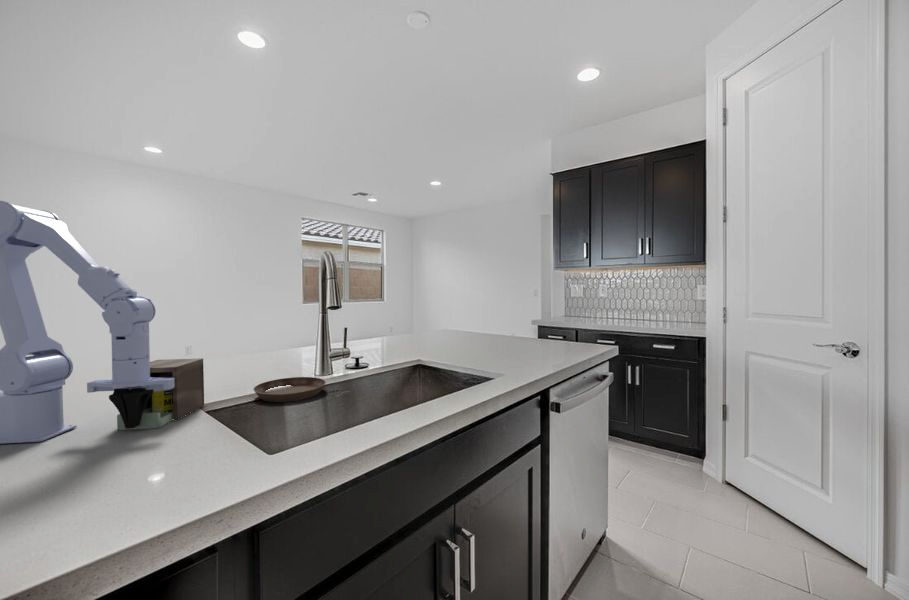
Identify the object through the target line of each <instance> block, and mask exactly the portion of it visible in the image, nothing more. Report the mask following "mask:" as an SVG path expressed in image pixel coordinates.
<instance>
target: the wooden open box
mask: <svg viewBox="0 0 909 600" xmlns="http://www.w3.org/2000/svg"><path fill="white" fill-rule="evenodd" d="M164 376H173V378H174V388H173V416H174V420H178V419H180V418H181V417H183V416H185V415H187V414H189V413H190V412H192V411H194V410H196V409H197V410H199V409H202V407H204V406H205V380H204V379H205V377H204V376H205V375H204V358H202V357H201V358H176V359H175V358H173V359H172V358H171V359H156V360H152V361H150V377H155V378H158V377H164ZM137 387H140V386H137ZM203 405H204V406H203ZM150 407H152V395H151V396H150V398H149V400H148V402H147V404H146V406H145V408H144V410H145V409H148V408H150ZM197 410H196V411H197ZM194 412H195V411H194ZM192 413H193V412H192ZM190 414H191V413H190ZM190 414H189V415H190ZM187 416H188V415H187ZM185 417H186V416H185ZM183 418H184V417H183ZM181 419H182V418H181ZM181 419H180V420H181ZM174 420H173V421H174ZM178 421H179V420H178Z"/></svg>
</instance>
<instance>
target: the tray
mask: <svg viewBox="0 0 909 600" xmlns="http://www.w3.org/2000/svg"><path fill="white" fill-rule="evenodd" d="M172 419H174V416H173V412H164V413H160V412H152V407H150V408H148V409H145V410H144V411H143V414H142V417H141V421H140V425H139V426H136V427H134V428H125V425H124V422H123V420H122V417H121V415H120V413H119V414H117V415H116V427H117V431H125V430H129V431H130V430H145V429H146V430H147V429H159V428H162V427H163V426H164V424H165V425H167V424H168V423H170V422H172V421H173V420H172ZM171 420H172V421H171ZM169 421H170V422H169ZM167 422H168V423H167ZM166 423H167V424H166ZM162 425H163V426H162Z"/></svg>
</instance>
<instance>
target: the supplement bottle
mask: <svg viewBox="0 0 909 600" xmlns="http://www.w3.org/2000/svg"><path fill="white" fill-rule="evenodd" d="M158 378H173V376H164V377H158ZM152 412H160V413H164V412H173V388H171V389H169V390H163V389H153V393H152Z"/></svg>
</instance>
